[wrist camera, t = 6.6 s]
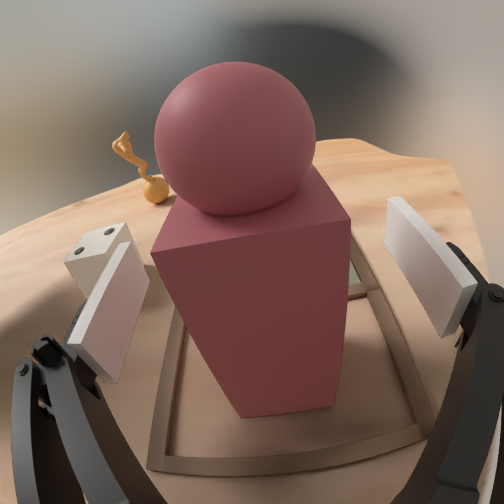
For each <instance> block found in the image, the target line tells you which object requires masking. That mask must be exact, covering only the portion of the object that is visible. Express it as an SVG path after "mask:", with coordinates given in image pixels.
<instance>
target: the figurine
mask: <svg viewBox="0 0 504 504" xmlns="http://www.w3.org/2000/svg"><path fill="white" fill-rule="evenodd" d="M129 137H130V135H128V133H127V132H124V133H123V134H122V135H121V137H120V138H118V139H117V140H116V141H114V142H113V146H112V147H113V149H114V151H115V152H116V153H118V154H119V155H120V156H122V157H124V158H125V160H127V161H129V162H132V163H133V164H134V165H137V166H140V168H139V169H138V172H139V174H140V176H142V178H144V179H145V180H147V181H146V183H145V185H144V187H143V194H144V196H145V198H146V199H147V200H148V201H149V202H151V203H160V202H162V201H164V200H165V199H166V198H167V196H168V194H169V185H168V183H167V182H166V180H165V179H163V178H161V177H152V176H146V175H144V173H145V171H146V168H147V163H146V162H145V161H143V160H141V159H139V158H137V157H136V156H134V155H133V152H132V147H131V144H130V142H129V141H128V139H129Z"/></svg>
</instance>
